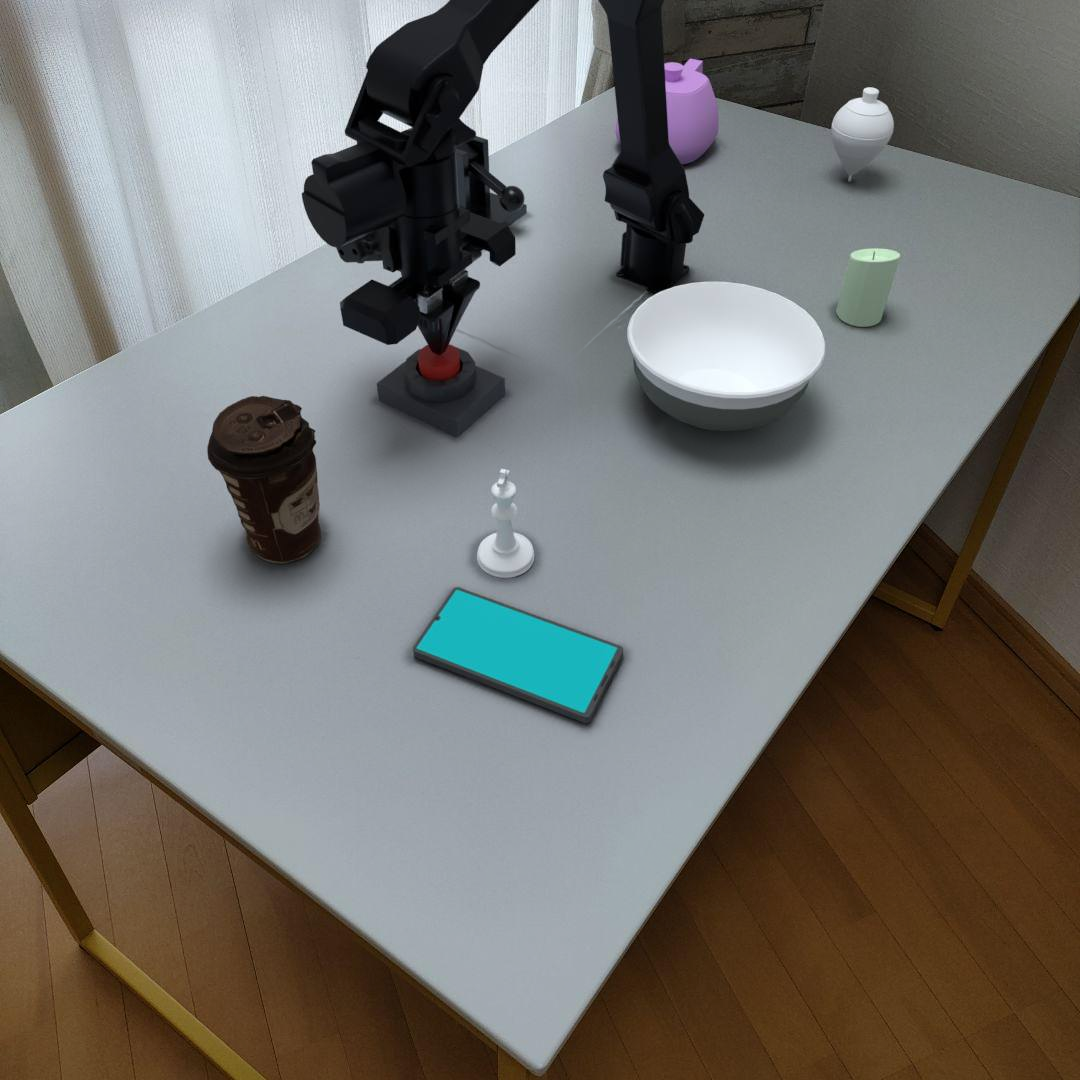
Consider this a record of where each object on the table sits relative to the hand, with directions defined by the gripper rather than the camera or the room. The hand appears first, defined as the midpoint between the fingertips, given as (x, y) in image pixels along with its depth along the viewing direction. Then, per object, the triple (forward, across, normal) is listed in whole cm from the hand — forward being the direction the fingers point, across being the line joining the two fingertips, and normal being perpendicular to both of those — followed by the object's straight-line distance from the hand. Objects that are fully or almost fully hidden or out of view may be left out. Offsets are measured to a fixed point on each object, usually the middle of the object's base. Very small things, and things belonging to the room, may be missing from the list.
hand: (438, 352), depth 96 cm
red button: (+2, 0, 0) cm, 2 cm away
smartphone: (+6, +22, +25) cm, 34 cm away
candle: (+6, -38, +29) cm, 48 cm away
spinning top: (+6, -67, +16) cm, 69 cm away
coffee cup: (+6, +23, +1) cm, 24 cm away
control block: (+6, 0, 0) cm, 6 cm away
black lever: (+1, -30, -17) cm, 34 cm away
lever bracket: (+6, -30, -20) cm, 36 cm away
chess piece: (+6, +14, +18) cm, 24 cm away
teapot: (+6, -61, -9) cm, 62 cm away
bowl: (+6, -15, +23) cm, 28 cm away
